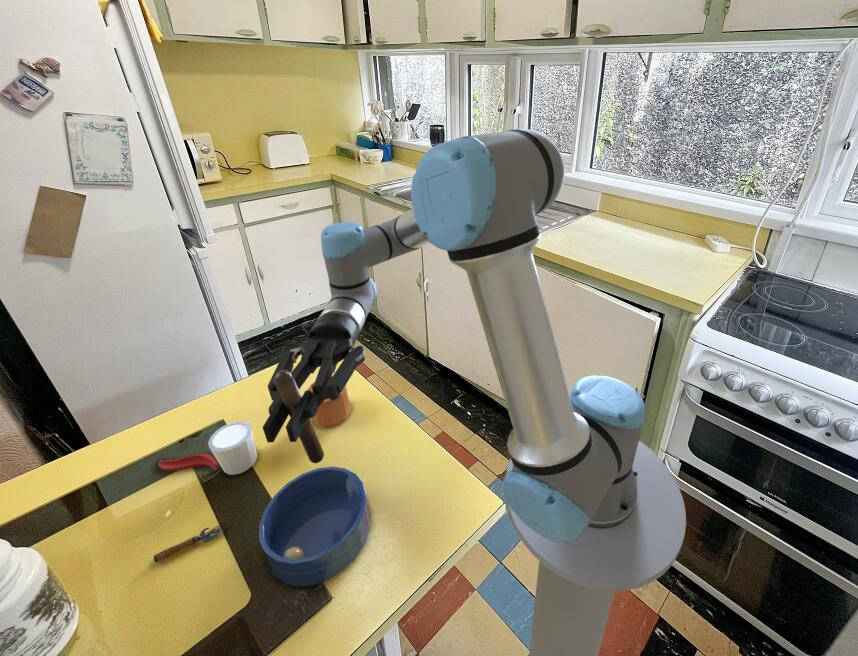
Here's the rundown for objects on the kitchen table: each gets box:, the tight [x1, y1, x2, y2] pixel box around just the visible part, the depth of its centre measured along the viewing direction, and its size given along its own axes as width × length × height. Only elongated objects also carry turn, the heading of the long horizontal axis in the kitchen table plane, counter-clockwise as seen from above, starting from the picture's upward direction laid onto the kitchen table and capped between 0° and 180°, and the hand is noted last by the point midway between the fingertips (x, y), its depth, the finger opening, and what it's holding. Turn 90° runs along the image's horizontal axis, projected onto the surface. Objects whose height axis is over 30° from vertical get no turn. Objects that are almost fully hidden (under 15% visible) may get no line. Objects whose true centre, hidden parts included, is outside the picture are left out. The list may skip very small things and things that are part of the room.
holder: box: [307, 381, 351, 428], centre depth 87 cm, size 8×8×7 cm
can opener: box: [153, 525, 225, 563], centre depth 64 cm, size 9×2×1 cm, turn 118°
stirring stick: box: [274, 370, 325, 464], centre depth 59 cm, size 2×2×20 cm
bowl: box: [258, 466, 371, 587], centre depth 65 cm, size 15×15×6 cm
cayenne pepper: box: [158, 453, 219, 472], centre depth 77 cm, size 12×5×2 cm, turn 76°
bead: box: [282, 547, 304, 559], centre depth 61 cm, size 3×3×3 cm
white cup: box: [207, 421, 258, 476], centre depth 76 cm, size 7×7×7 cm
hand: (279, 434), depth 52 cm, fingers closed on stirring stick, 2 cm apart
